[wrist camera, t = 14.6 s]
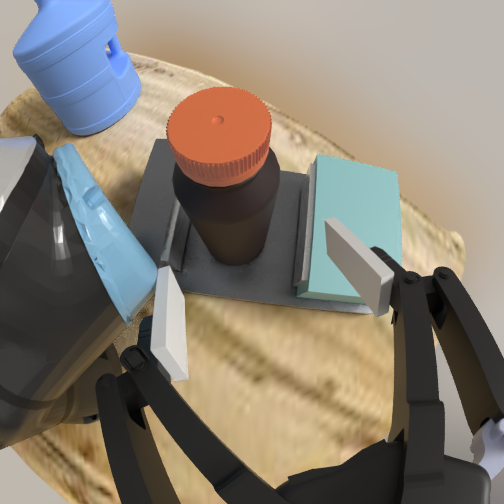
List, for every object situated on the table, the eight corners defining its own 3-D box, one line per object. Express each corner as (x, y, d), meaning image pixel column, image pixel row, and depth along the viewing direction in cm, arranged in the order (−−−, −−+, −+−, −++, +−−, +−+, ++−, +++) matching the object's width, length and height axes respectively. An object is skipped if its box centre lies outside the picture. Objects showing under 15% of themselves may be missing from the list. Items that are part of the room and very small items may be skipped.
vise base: (139, 283, 32) (109, 272, 24) (167, 166, 35) (150, 131, 28) (367, 314, 31) (400, 311, 24) (370, 194, 35) (396, 166, 27)
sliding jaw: (290, 296, 30) (301, 290, 24) (301, 179, 33) (311, 153, 27) (374, 304, 29) (400, 300, 24) (376, 194, 33) (397, 172, 27)
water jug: (86, 153, 36) (-7, 27, 9) (56, 117, 39) (-12, 20, 11) (159, 92, 39) (116, -50, 12) (117, 67, 41) (75, -39, 14)
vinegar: (198, 259, 30) (125, 174, 11) (213, 203, 32) (175, 71, 12) (259, 272, 30) (280, 199, 11) (270, 214, 32) (300, 84, 12)
